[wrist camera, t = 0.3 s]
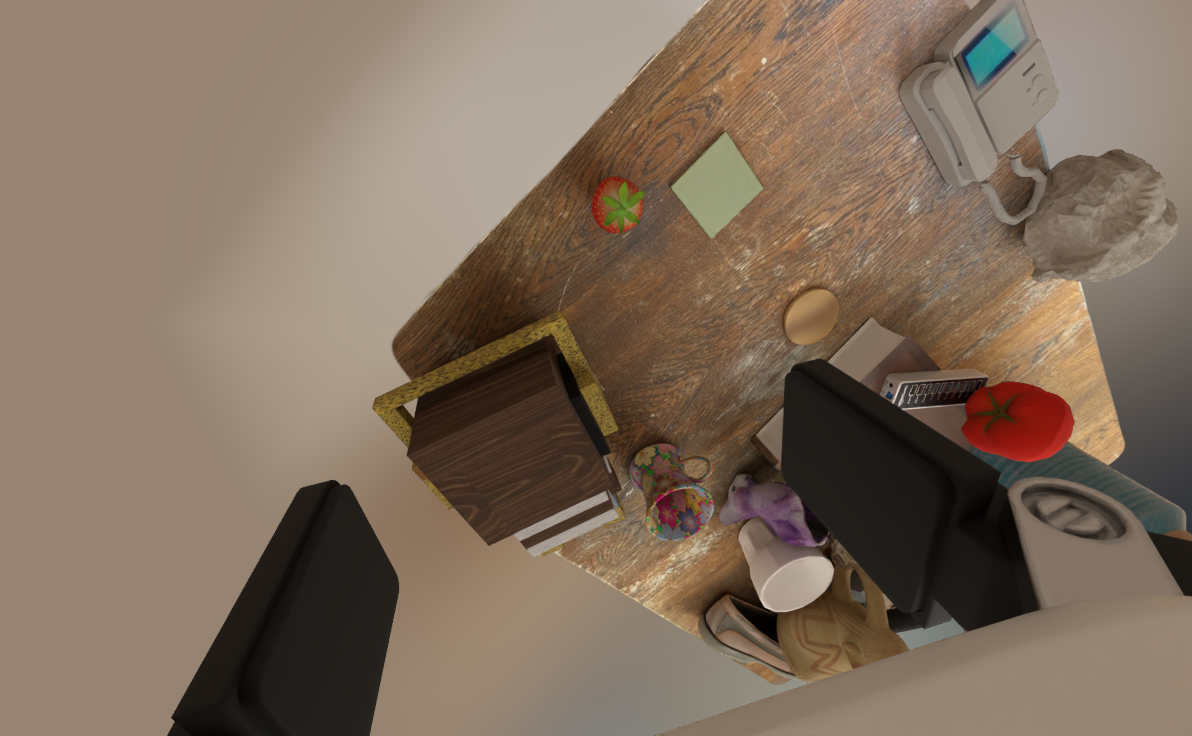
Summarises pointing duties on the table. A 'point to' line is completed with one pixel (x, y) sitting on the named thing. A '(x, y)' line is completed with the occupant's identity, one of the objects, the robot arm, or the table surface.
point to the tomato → (1017, 421)
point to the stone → (1098, 218)
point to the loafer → (744, 634)
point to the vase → (1095, 485)
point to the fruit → (617, 205)
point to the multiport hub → (932, 388)
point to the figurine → (773, 511)
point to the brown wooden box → (514, 438)
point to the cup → (783, 568)
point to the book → (876, 384)
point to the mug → (671, 492)
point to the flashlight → (901, 621)
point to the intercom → (983, 98)
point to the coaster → (811, 316)
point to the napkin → (717, 186)
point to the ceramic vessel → (837, 630)
